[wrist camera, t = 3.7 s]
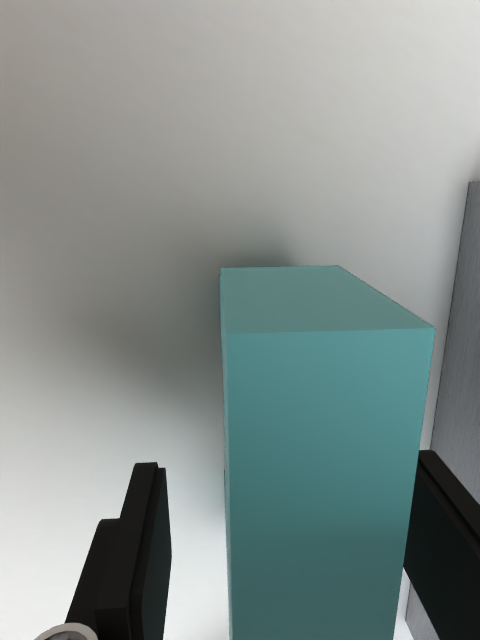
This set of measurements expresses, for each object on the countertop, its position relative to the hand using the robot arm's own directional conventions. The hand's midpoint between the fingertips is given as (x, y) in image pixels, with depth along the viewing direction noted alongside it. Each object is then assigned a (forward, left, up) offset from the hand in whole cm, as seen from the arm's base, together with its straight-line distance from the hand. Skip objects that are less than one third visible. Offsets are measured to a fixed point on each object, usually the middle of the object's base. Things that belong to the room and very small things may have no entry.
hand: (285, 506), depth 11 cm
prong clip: (0, 0, -6) cm, 6 cm away
